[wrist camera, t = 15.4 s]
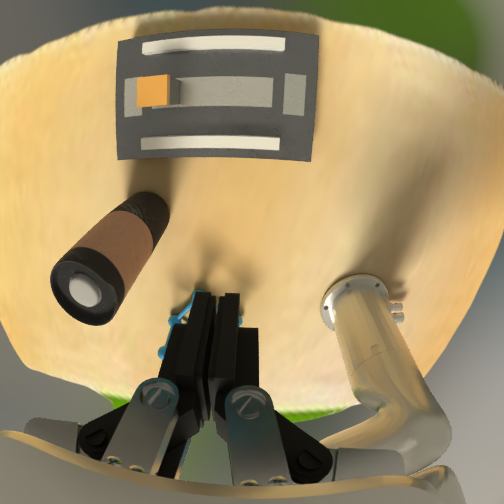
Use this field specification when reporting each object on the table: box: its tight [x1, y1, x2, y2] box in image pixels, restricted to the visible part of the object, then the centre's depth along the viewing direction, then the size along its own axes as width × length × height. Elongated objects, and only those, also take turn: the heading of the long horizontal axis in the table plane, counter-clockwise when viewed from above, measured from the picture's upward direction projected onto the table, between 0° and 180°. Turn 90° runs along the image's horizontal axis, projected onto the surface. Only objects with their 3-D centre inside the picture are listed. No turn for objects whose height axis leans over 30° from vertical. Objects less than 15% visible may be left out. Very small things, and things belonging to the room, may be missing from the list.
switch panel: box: [116, 29, 319, 162], centre depth 29 cm, size 24×16×5 cm, turn 88°
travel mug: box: [50, 192, 169, 326], centre depth 31 cm, size 8×8×20 cm
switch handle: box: [137, 74, 180, 108], centre depth 26 cm, size 3×3×5 cm
